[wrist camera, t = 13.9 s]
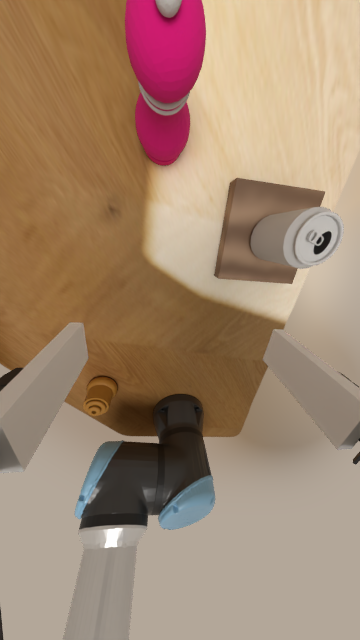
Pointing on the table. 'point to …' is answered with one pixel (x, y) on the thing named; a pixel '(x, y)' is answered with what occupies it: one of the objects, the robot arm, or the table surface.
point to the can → (298, 237)
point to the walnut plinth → (242, 217)
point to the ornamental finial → (99, 395)
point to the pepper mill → (164, 70)
